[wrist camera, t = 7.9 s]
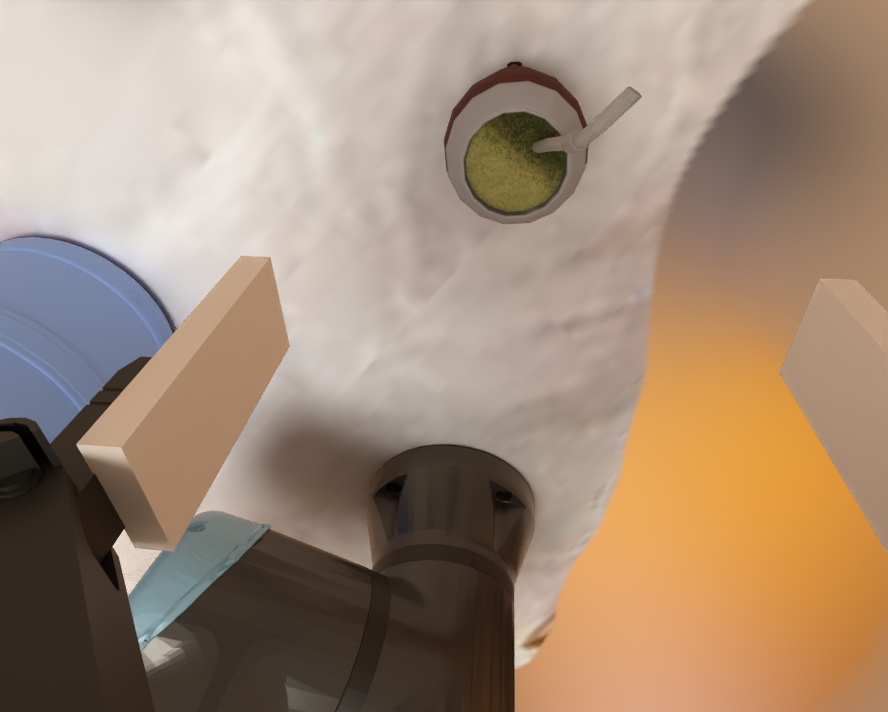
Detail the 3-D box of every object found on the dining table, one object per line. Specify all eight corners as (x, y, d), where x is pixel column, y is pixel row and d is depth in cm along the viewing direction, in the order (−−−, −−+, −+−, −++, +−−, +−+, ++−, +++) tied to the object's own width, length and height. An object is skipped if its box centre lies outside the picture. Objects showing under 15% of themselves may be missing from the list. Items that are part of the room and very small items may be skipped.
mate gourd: (459, 186, 35) (428, 315, 23) (447, 40, 30) (400, 105, 18) (583, 179, 34) (620, 310, 21) (591, 27, 29) (644, 86, 17)
